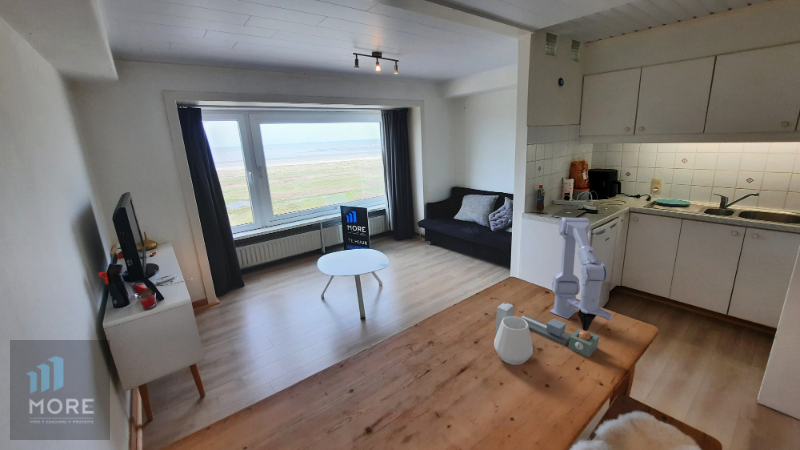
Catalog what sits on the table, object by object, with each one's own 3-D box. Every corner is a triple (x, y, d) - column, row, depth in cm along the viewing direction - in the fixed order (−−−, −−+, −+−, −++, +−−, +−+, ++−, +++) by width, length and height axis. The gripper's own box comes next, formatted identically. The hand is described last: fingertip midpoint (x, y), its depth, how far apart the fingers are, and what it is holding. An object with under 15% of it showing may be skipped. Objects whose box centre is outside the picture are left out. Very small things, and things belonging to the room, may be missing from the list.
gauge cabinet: (577, 339, 126) (579, 328, 124) (597, 347, 121) (599, 336, 119) (567, 348, 121) (569, 337, 119) (588, 358, 115) (589, 345, 114)
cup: (489, 362, 115) (491, 328, 111) (497, 340, 126) (499, 309, 123) (529, 373, 109) (533, 338, 105) (534, 350, 120) (537, 317, 116)
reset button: (580, 338, 122) (581, 328, 121) (590, 342, 120) (592, 333, 119) (576, 342, 120) (577, 332, 119) (586, 347, 118) (588, 337, 116)
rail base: (525, 317, 141) (525, 313, 141) (572, 338, 126) (573, 333, 126) (516, 323, 137) (516, 319, 136) (564, 345, 122) (565, 340, 122)
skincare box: (505, 338, 128) (506, 311, 124) (494, 334, 131) (496, 307, 127) (512, 331, 132) (514, 305, 128) (502, 327, 135) (504, 301, 131)
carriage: (552, 327, 131) (553, 318, 130) (564, 332, 128) (565, 323, 126) (546, 331, 128) (547, 323, 127) (558, 337, 124) (559, 328, 123)
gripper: (564, 292, 118) (560, 325, 121) (609, 307, 107) (603, 343, 111) (572, 286, 122) (568, 318, 126) (616, 300, 111) (610, 334, 115)
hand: (585, 329), depth 118 cm, fingers closed
